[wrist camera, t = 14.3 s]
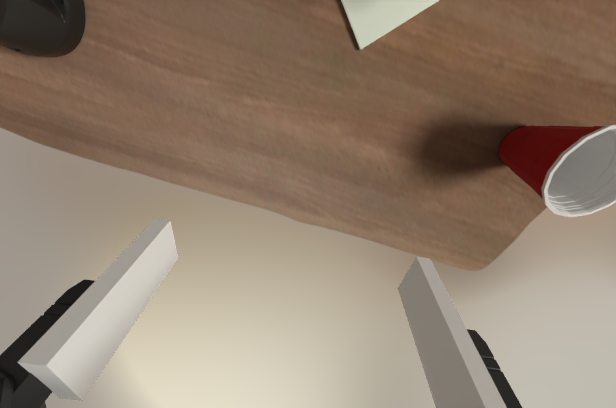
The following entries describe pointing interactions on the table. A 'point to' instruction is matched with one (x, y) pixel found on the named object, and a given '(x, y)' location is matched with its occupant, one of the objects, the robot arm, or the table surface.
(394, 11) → the card
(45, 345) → the robot arm
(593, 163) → the plastic cup
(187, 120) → the table surface
